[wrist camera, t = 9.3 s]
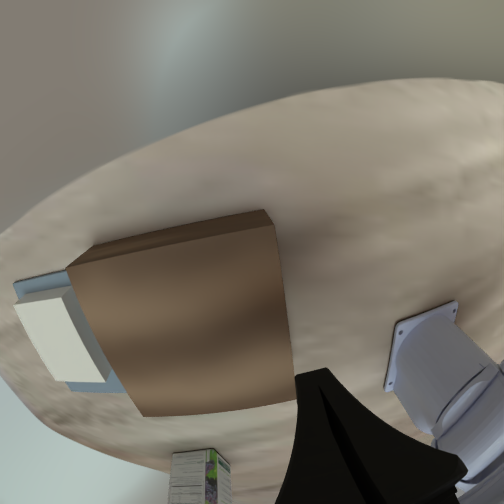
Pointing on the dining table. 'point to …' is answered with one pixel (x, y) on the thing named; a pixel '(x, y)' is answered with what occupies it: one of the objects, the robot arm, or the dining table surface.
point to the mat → (59, 281)
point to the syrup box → (199, 478)
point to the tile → (63, 335)
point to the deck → (192, 315)
